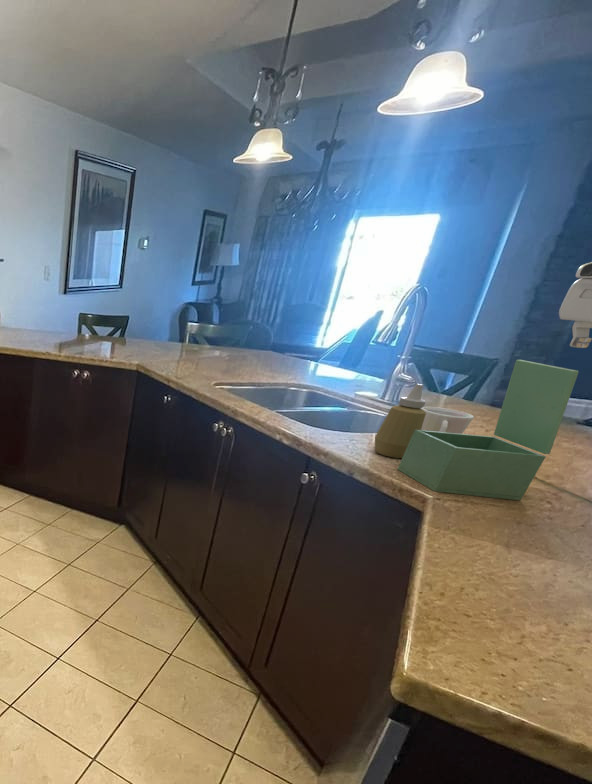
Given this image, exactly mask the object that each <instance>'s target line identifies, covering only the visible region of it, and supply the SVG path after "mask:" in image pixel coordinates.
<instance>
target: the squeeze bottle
mask: <svg viewBox="0 0 592 784" xmlns="http://www.w3.org/2000/svg"><path fill="white" fill-rule="evenodd" d="M423 389H424V384H422V383H416V384H415V386H414V387H413V388H412V389H411V391H410V392H409V393H408V395H407V396H401V397H400V398H399V401H398V404H396V405H393V406H391V407H390V409H389V411H388V413H387V415H386V416H385V418H384V419H383V422H382V423H381V424H380V427H379V429H378V430H377V432H376V434H375V435H374V451H375V453H377V454H379V455H382V456H385V457H388V458H395V459H402V458H403V455H404V453H405V451H406V449H407V447H408V444H409V442H410V440H411V438H412V435H413V433H414V431H415V430H421V428H422V425H423V422H424V418H425V415H426V412H425V411H424V410H423V409H421V408H423V407H425V405H426V403H427V401H426V400H425V399H422V395H423Z"/></svg>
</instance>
